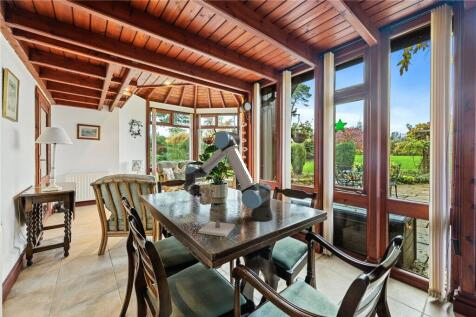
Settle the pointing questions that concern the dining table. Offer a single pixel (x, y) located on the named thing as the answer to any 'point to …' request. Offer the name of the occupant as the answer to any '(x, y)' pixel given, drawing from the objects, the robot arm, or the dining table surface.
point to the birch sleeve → (206, 195)
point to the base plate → (217, 228)
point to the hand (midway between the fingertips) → (209, 195)
